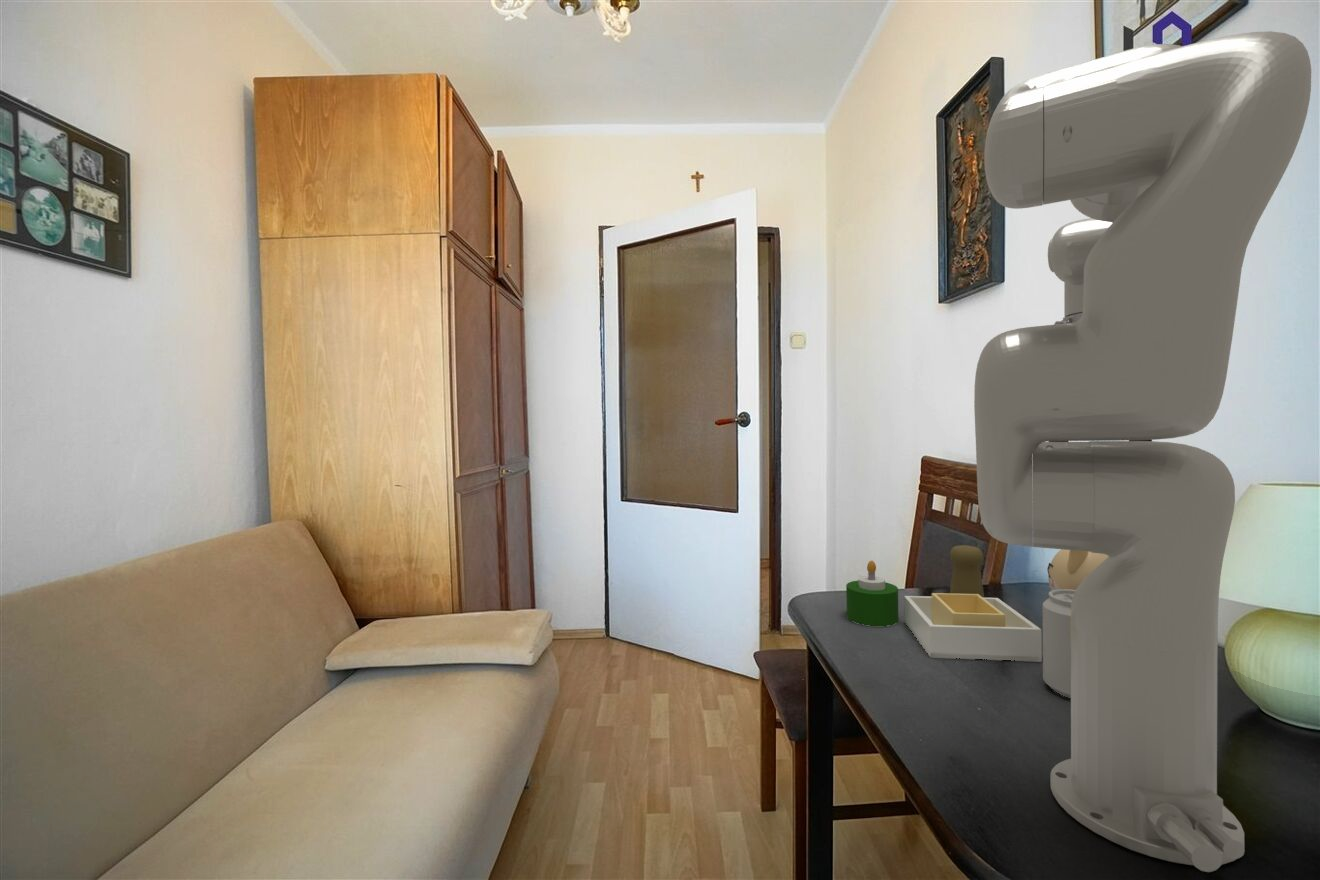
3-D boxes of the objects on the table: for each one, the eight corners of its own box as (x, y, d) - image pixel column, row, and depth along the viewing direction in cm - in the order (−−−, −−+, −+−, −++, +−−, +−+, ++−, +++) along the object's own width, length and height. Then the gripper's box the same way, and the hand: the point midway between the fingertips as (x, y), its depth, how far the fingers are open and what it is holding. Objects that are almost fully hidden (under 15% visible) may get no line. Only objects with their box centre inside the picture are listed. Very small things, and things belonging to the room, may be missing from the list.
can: (1132, 709, 67) (1132, 605, 66) (1060, 704, 68) (1059, 603, 68) (1097, 680, 74) (1097, 587, 74) (1032, 676, 75) (1031, 585, 75)
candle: (837, 619, 99) (836, 561, 99) (862, 607, 104) (861, 552, 104) (883, 631, 93) (882, 569, 92) (907, 618, 98) (906, 560, 98)
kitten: (1087, 612, 99) (1086, 525, 99) (1155, 631, 90) (1155, 535, 89) (1025, 625, 94) (1025, 533, 93) (1091, 647, 84) (1091, 545, 84)
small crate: (1005, 649, 82) (1005, 614, 82) (953, 647, 84) (952, 613, 83) (978, 625, 92) (978, 594, 92) (931, 623, 93) (931, 593, 93)
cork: (987, 605, 104) (986, 544, 103) (985, 615, 99) (984, 551, 98) (949, 600, 107) (949, 541, 107) (946, 610, 102) (945, 548, 102)
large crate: (1041, 661, 80) (1041, 629, 80) (930, 657, 82) (930, 626, 82) (997, 625, 94) (997, 597, 94) (904, 622, 96) (903, 595, 96)
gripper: (1041, 326, 75) (1042, 458, 76) (1193, 319, 72) (1192, 456, 73) (1015, 335, 82) (1016, 455, 83) (1152, 329, 80) (1152, 453, 80)
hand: (1099, 455), depth 78 cm, fingers open, 9 cm apart
